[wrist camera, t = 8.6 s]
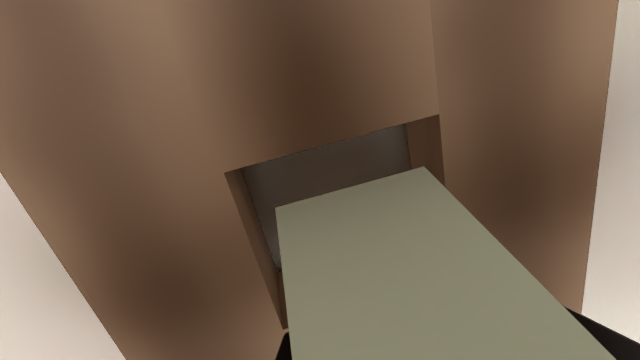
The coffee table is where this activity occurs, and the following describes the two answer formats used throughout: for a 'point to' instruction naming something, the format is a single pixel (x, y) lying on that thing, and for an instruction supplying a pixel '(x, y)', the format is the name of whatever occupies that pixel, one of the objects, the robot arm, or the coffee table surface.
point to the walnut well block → (286, 139)
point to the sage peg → (413, 281)
